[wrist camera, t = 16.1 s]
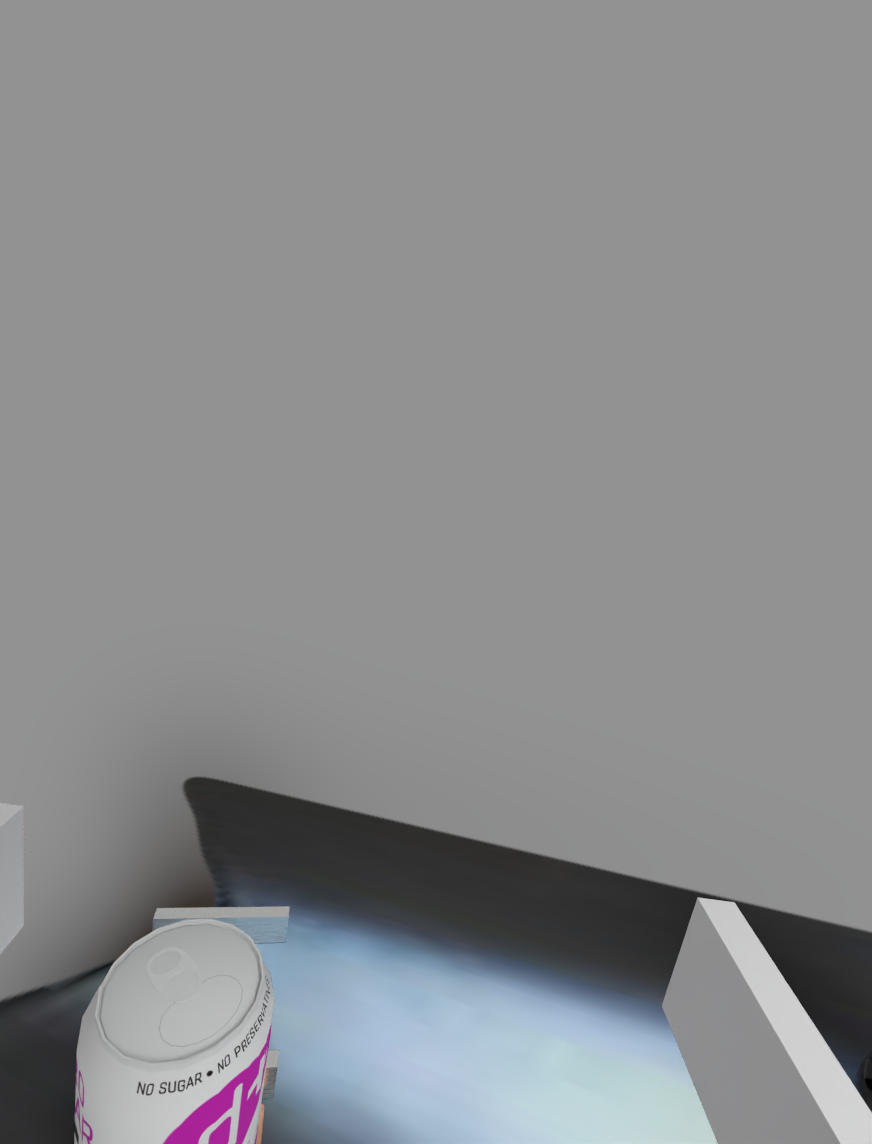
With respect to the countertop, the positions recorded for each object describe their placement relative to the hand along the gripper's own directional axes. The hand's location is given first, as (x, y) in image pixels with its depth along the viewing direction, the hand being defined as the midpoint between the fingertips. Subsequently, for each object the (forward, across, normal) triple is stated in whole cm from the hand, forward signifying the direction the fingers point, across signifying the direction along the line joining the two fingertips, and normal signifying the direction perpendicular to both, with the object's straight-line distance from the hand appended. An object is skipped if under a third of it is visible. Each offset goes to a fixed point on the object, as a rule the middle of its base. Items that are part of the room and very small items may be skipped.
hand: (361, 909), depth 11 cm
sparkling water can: (+12, -7, -32) cm, 35 cm away
